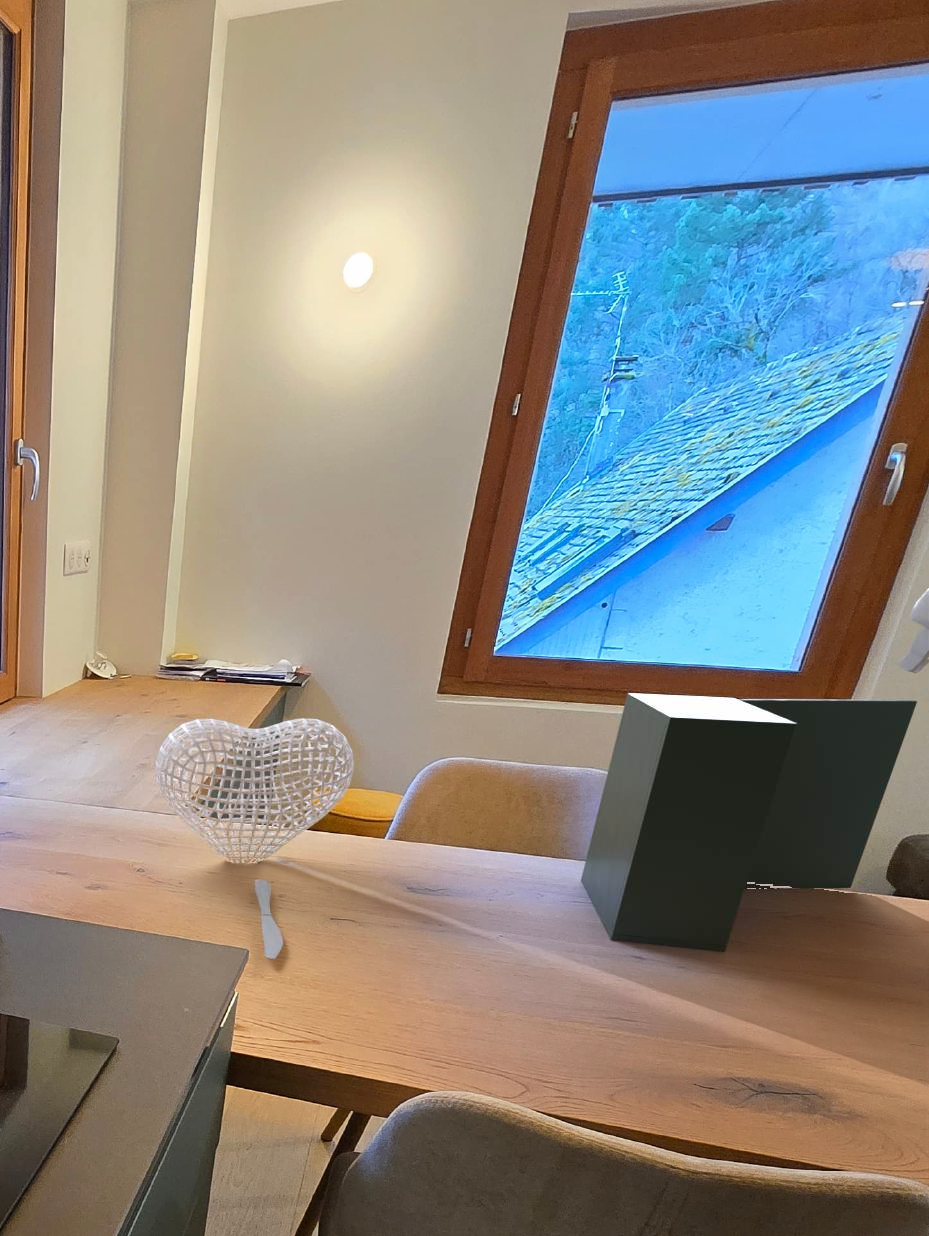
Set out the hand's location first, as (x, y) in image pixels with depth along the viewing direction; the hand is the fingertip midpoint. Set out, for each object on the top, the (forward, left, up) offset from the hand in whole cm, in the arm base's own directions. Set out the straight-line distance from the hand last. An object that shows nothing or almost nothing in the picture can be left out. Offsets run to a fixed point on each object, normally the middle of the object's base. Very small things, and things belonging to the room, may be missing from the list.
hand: (928, 676), depth 119 cm
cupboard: (+15, +18, -31) cm, 39 cm away
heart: (+59, +46, -32) cm, 81 cm away
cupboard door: (+13, -6, -31) cm, 34 cm away
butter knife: (+40, +62, -31) cm, 80 cm away
